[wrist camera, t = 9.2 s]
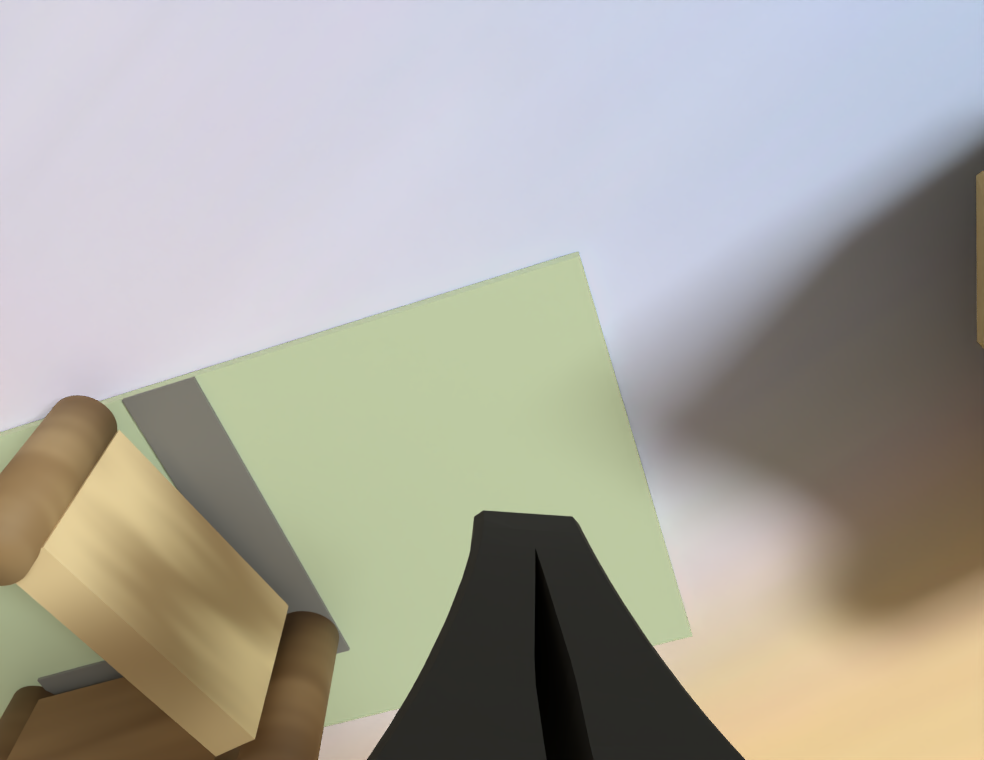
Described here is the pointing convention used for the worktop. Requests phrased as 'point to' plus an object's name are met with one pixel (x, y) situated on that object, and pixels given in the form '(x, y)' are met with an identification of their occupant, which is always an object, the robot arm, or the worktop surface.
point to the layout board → (389, 474)
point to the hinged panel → (139, 574)
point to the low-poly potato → (980, 256)
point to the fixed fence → (156, 736)
